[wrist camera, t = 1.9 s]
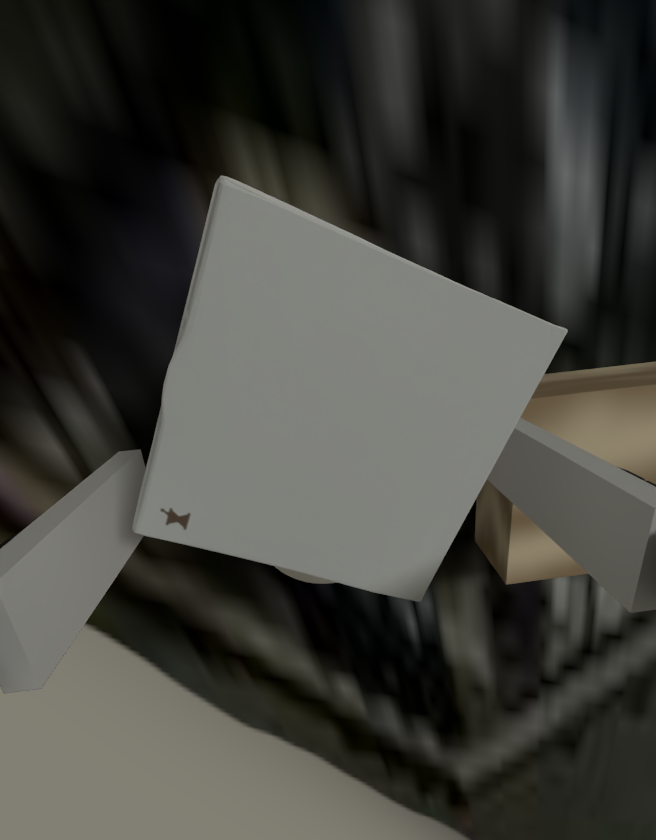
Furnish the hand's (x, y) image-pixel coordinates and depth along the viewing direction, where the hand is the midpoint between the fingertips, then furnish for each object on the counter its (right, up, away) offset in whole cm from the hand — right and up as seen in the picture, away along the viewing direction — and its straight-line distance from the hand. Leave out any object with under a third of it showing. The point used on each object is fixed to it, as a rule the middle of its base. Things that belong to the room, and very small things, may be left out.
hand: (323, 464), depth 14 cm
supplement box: (-1, +6, +10) cm, 11 cm away
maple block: (+18, -1, +14) cm, 22 cm away
